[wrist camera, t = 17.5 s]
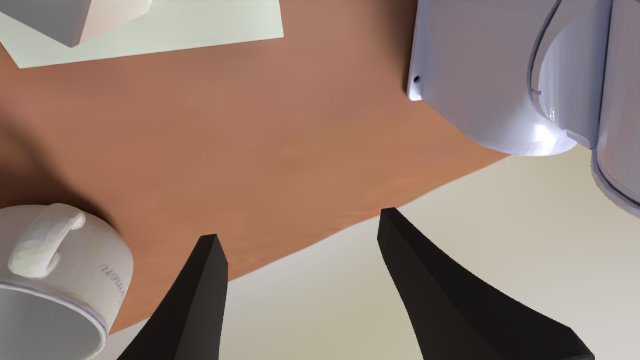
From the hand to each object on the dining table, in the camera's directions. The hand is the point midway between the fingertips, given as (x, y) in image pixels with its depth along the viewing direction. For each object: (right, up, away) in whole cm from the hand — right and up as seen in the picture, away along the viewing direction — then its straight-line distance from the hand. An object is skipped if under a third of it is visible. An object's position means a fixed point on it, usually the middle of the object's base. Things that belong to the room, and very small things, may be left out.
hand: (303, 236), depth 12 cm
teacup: (-18, -1, +10) cm, 21 cm away
